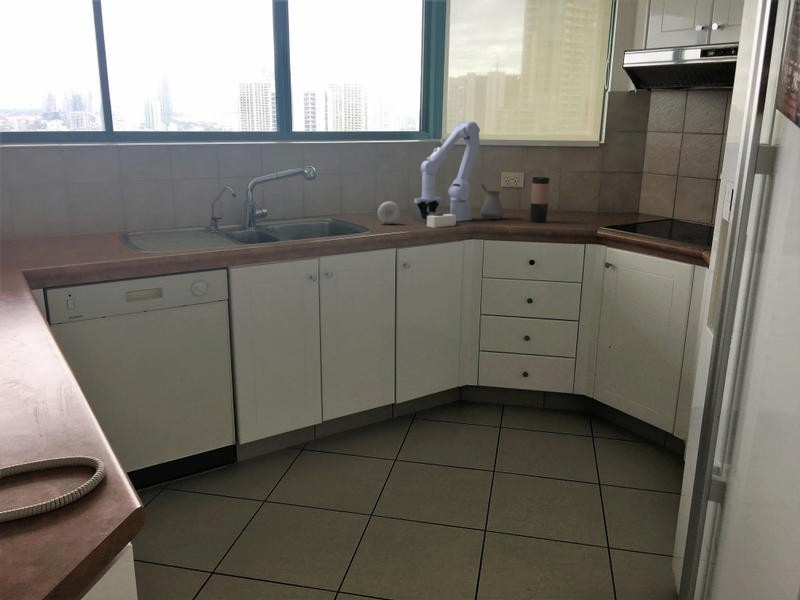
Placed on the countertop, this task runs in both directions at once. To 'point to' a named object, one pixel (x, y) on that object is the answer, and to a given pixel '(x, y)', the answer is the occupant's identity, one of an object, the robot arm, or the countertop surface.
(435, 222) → the cream u-shaped cradle
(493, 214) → the coffee pot
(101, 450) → the countertop surface
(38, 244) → the countertop surface
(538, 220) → the travel mug
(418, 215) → the rail
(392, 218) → the donut
